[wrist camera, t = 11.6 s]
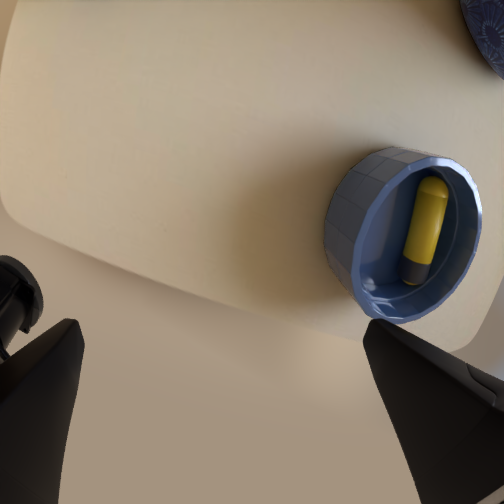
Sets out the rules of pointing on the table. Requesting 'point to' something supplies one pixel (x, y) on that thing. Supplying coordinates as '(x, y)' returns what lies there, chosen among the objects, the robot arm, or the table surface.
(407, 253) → the marker
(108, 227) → the table surface
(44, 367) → the robot arm
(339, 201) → the bowl
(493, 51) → the planter
